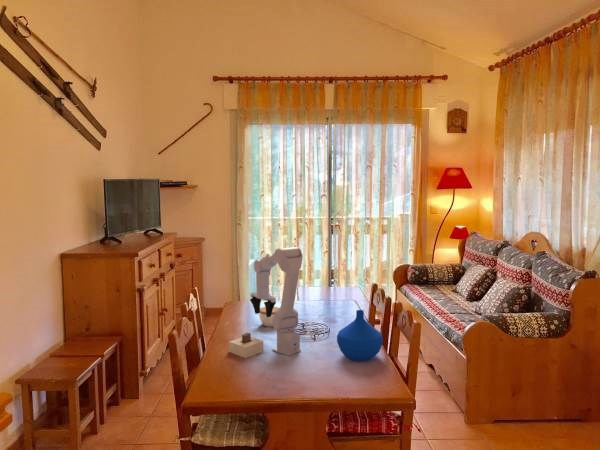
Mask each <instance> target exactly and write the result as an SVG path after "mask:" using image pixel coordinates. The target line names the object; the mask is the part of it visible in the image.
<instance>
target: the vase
mask: <svg viewBox="0 0 600 450" xmlns="http://www.w3.org/2000/svg"><path fill="white" fill-rule="evenodd" d="M364 312H365V311H364V310H363V309H356V313H355V314H356V315H355V319H354V320H352V322H350V323H349V324H348V325H346V326H344V327H343V328H341V329H340V330H338V333H337V335H336V342H337V345H338V347H339V351H341V353H342V354H343V356H345V357H346V358H347V360H348V359H349V360H350V361H354V362H361V363H363V362H368V361H371V360H372V359H374V358H375V357H377V355H378V354H379V352H380V351H381V349H382V346H383V339H384V338H383V335H382V333H381V332H380V331H379V330H378V329H376V328H375V327H374V326H372V325H371V324H370V323H369V322H368V321H367V320H366V319H365V316H364V315H365V314H364Z"/></svg>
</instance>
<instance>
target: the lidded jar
mask: <svg viewBox="0 0 600 450" xmlns="http://www.w3.org/2000/svg"><path fill="white" fill-rule="evenodd" d="M279 308H280V307H278V306H274V307H273V310H272V314H271V317H267V316H266V307H265V306H263V307H260V313H258V314H259V319H260V322H261V323H262V324H263V325H264V326H265V327H270V328H271V327H273V324H272V319H273V317H274V315H275V311H276V310H278V309H279Z"/></svg>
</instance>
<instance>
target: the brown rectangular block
mask: <svg viewBox="0 0 600 450" xmlns="http://www.w3.org/2000/svg"><path fill="white" fill-rule="evenodd" d="M251 334H252V332H251V333H250V332H245V333H243V334H242V335H241V338H242V343H244V344H245V343H248V342H251V337H252V335H251Z"/></svg>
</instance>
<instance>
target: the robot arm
mask: <svg viewBox="0 0 600 450" xmlns="http://www.w3.org/2000/svg"><path fill="white" fill-rule="evenodd" d="M303 257H304V256H303V252H302V249H301V248H300V247H299V246H294V247H285V248H284V247H283V248H277V249H275V251H274V252H273V253H272V254H271V253H266V255H264V256H263V257H261V259H255V261H253V270H254V272H255V274H256V277H255V279H256V282H255V283H256V292H254V291H253V292H251V293H250V299H249V300H250V303H251V304H252V307H253V309H254V314H255V315H258V314H259V313H260V308H261V303H262V301H265V302H264V303H263V304H264V307H266V316H267V317H271V314H272V310H273V307H275V305H276V304H277V301H276V297H275V296H272V294H271V293H270V276H271V270H272V268H274V267H275V266H276V265H277V264H278V267H279V268H280V270H281V271H282V272H284V273H285V276H284V283H283V289H282V294H281V295H282V296H281V297H282V298H281V303H280V307H278V308H279V309H278V310H276V311H275V315H274V317H273V319H272V324H273V326H272V328H273V329H274V330H275V331H276V347H275V348H274V347H273V348H272V351H273V352H276V353H279V354H282V355H285V356H289V357H290V356H292V355H294V354H297V353H298V352H301V351H302V350H301V347H300V346H301V344H300V343H301V341H300V339H301V336H300V334H299V333H298V332H296V331H295V330H296V328H297V327H298V325H299V313H298V311H297V310H296V309H295V308H294V307H295V306H294V305H295V299H296V295H297V289H298V288H297V287H298V284H299V283H298V281H299V276H300V270H301V268H302V264H303Z"/></svg>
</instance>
